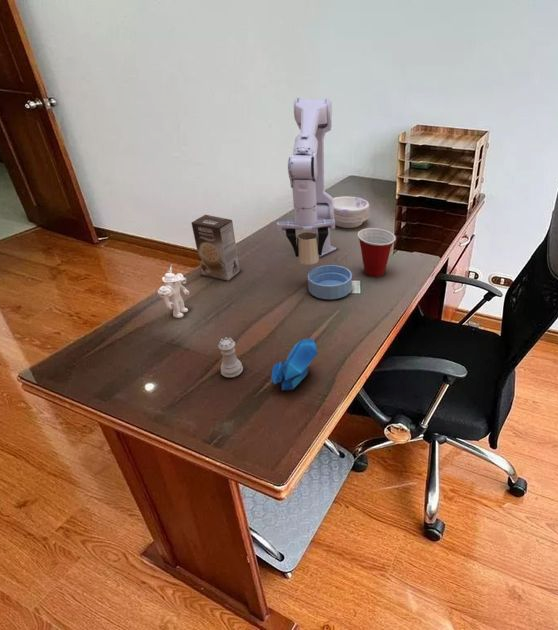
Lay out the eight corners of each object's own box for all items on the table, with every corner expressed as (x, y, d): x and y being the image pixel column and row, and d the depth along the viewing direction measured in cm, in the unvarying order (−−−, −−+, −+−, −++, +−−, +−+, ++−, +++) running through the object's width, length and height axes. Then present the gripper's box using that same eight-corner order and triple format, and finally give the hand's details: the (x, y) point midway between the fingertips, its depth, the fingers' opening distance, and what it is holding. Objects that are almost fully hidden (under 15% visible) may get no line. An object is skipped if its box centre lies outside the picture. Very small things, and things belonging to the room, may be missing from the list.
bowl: (299, 290, 119) (298, 276, 117) (329, 274, 127) (329, 261, 125) (331, 305, 113) (330, 291, 111) (360, 288, 121) (360, 274, 118)
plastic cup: (390, 283, 124) (392, 244, 117) (353, 278, 125) (353, 240, 119) (396, 266, 133) (398, 229, 126) (361, 262, 134) (362, 225, 128)
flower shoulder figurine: (182, 302, 113) (172, 261, 106) (196, 304, 112) (186, 262, 106) (162, 322, 105) (149, 278, 99) (177, 324, 105) (165, 280, 98)
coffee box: (200, 275, 125) (189, 222, 116) (214, 265, 130) (204, 214, 121) (228, 281, 123) (218, 227, 114) (241, 271, 128) (232, 218, 119)
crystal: (258, 368, 82) (290, 324, 89) (269, 394, 88) (298, 351, 96) (292, 379, 79) (322, 333, 87) (301, 405, 86) (329, 360, 93)
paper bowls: (376, 221, 162) (377, 200, 158) (353, 235, 151) (353, 213, 147) (343, 213, 169) (343, 192, 164) (318, 225, 158) (317, 203, 154)
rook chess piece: (223, 365, 93) (216, 334, 88) (244, 364, 93) (239, 334, 89) (219, 379, 89) (212, 348, 85) (241, 378, 89) (235, 347, 85)
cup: (294, 260, 117) (292, 236, 113) (309, 253, 121) (307, 229, 117) (308, 266, 114) (306, 242, 110) (323, 259, 118) (322, 235, 114)
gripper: (275, 212, 105) (280, 263, 112) (336, 209, 107) (337, 259, 114) (275, 202, 110) (280, 251, 118) (332, 199, 113) (334, 248, 120)
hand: (308, 254), depth 117 cm, fingers closed on cup, 5 cm apart
